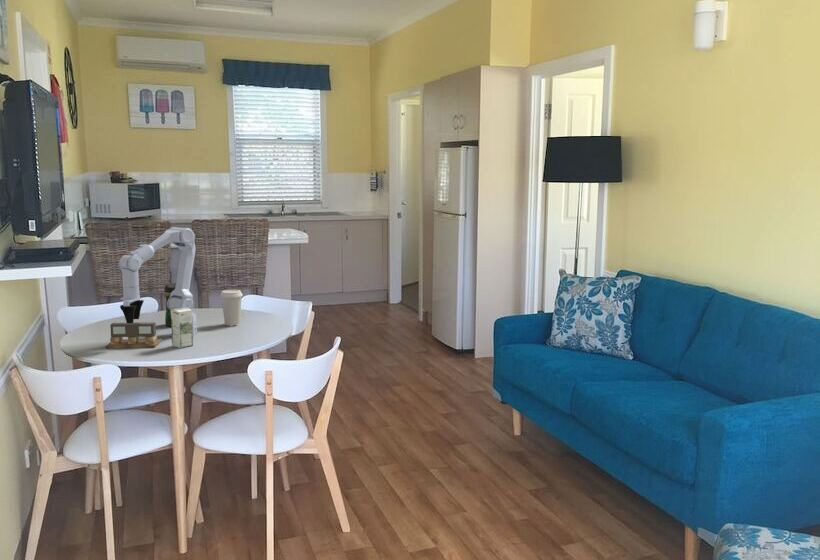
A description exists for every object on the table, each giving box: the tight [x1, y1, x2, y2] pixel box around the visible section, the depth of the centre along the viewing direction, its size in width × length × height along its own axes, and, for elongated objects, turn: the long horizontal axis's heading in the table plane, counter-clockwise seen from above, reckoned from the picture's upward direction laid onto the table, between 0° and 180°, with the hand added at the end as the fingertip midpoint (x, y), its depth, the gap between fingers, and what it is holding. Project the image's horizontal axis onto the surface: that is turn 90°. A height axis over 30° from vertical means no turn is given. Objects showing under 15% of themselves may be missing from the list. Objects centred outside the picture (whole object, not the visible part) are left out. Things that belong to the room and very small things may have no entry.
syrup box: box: [170, 308, 194, 349], centre depth 263 cm, size 6×6×14 cm
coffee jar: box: [163, 282, 182, 327], centre depth 299 cm, size 10×8×19 cm
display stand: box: [105, 333, 162, 349], centre depth 265 cm, size 18×10×4 cm, turn 95°
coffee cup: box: [219, 289, 244, 326], centre depth 301 cm, size 10×10×15 cm
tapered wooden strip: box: [110, 321, 157, 338], centre depth 265 cm, size 16×3×5 cm, turn 95°
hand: (133, 321), depth 264 cm, fingers open, 7 cm apart
